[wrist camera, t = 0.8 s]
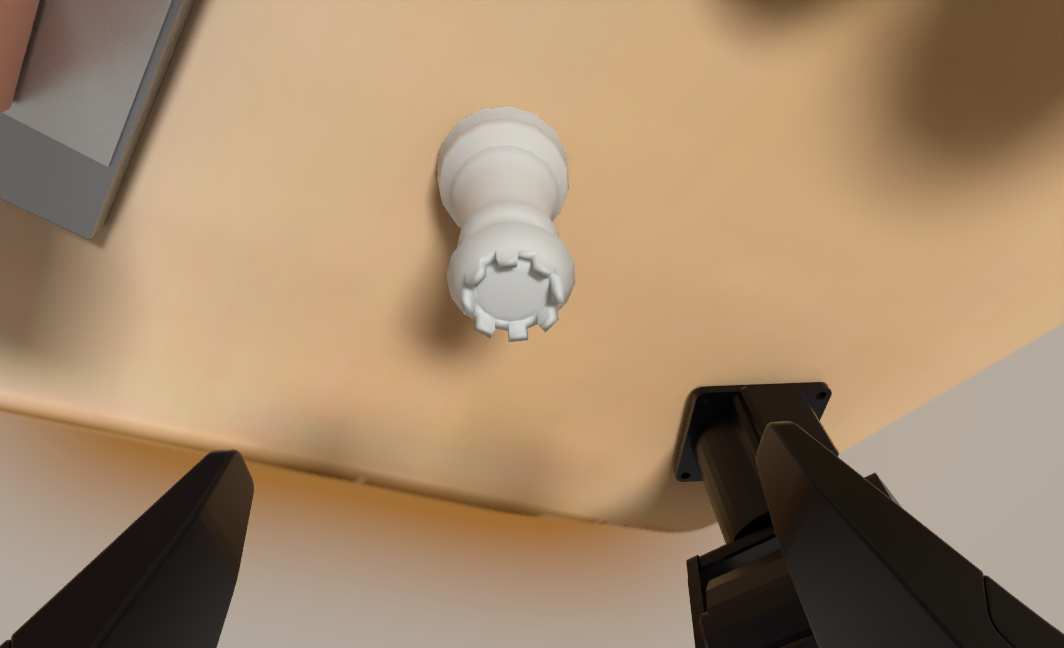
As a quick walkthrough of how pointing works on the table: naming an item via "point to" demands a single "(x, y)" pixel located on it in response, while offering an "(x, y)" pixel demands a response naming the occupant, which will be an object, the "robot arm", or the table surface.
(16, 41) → the block
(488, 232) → the rook chess piece
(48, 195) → the rail
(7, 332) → the table surface
